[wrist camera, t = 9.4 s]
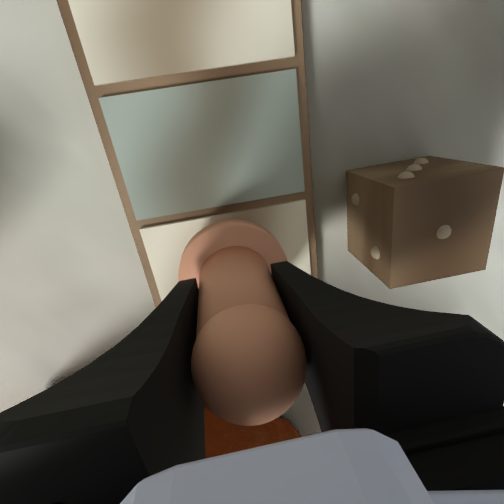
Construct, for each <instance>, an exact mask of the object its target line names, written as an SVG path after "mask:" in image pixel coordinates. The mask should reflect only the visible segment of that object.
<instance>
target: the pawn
mask: <svg viewBox="0 0 504 504" xmlns="http://www.w3.org/2000/svg"><path fill="white" fill-rule="evenodd" d="M283 261H287V258H286V255H285V253H284V251H283V249H282V248H281V246H280V244H279V242H278V241H277V239H276V238H275V237H274V236H273V235H272V234H271V233H270V232H269V231H268V230H267V229H265V228H264V227H262V226H260V225H258V224H256V223H254V222H250V221H247V220H240V219H229V220H222V221H218V222H215V223H213V224H210V225H208V226H206V227H204V228H203V229H201V230H200V231H199V232H197V233H196V234H195V235H194V236H193V237H192V238H191V240H190V241H189V242H188V244H187V245H186V247H185V249H184V251H183V253H182V257H181V261H180V266H179V273H178V282H179V281H182V280H187V279H192V278H196V280H197V284H198V288H199V292H198V311H197V330H196V341H195V343H194V346H193V350H192V357H191V373H192V378H193V383H194V386H195V388H196V391H197V393H198V395H199V397H200V398H201V400H202V401H203V403H204V404H205V405H206V406H207V408H208V409H209V410H210V411H211V412H213V413H214V414H215V415H217V416H218V417H220V418H221V419H223V420H225V421H227V422H230V423H233V424H237V425H242V426H255V425H261V424H265V423H267V422H270V421H272V420H274V419H276V418H278V417H279V416H281V415H282V414H283V413H285V412H286V411H287V410H288V409H289V408H290V407H291V406H292V404H293V403H294V402H295V400H296V399H297V397H298V396H299V394H300V392H301V389H302V387H303V384H304V381H305V376H306V367H307V359H306V352H305V348H304V344H303V341H302V339H301V337H300V335H299V333H298V331H297V329H296V328H295V327H294V325H293V324H292V323H291V322H290V319H289V317H288V314H287V312H286V309H285V307H284V304H283V302H282V299H281V297H280V294H279V292H278V289H277V287H276V284H275V282H274V279H273V277H272V273H271V265H270V264H272V263H277V262H283Z"/></svg>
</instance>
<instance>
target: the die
mask: <svg viewBox="0 0 504 504" xmlns="http://www.w3.org/2000/svg"><path fill="white" fill-rule="evenodd" d="M503 173H504V168H503V167H497V166H490V165H484V164H477V163H471V162H465V161H458V160H452V159H446V158H439V157H433V156H427V157H421V158H415V159H410V160H404V161H398V162H393V163H387V164H381V165H376V166H370V167H364V168H359V169H353V170H347V171H346V181H347V229H348V251H349V252H350V253H351V254H352V255H354V256H355V257H356V258H357V259H358V260H359V261H360V262H361V263H362V264H363V265H364V266H366V267H367V268H368V269H369V270H370V271H371V272H372V273H373V274H374V275H375V276H376V277H377V278H379V279H380V280H381V281H382V282H383V283H384V284H385V285H386V286H387V287H388V288H389V289H392V288H397V287H402V286H407V285H412V284H416V283H421V282H426V281H431V280H436V279H441V278H446V277H451V276H456V275H461V274H466V273H470V272H475V271H480V270H485V269H486V264H487V258H488V253H489V248H490V242H491V237H492V232H493V226H494V221H495V216H496V210H497V205H498V200H499V194H500V189H501V184H502V178H503Z"/></svg>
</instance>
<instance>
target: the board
mask: <svg viewBox="0 0 504 504" xmlns="http://www.w3.org/2000/svg"><path fill="white" fill-rule="evenodd" d="M57 3H58V6H59V9H60V12H61V16H62V19H63V22H64V25H65V28H66V31H67V34H68V37H69V40H70V43H71V46H72V50H73V53H74V56H75V59H76V62H77V65H78V68H79V71H80V74H81V77H82V80H83V84H84V87H85V90H86V93H87V96H88V99H89V102H90V105H91V108H92V111H93V114H94V118H95V121H96V124H97V127H98V130H99V133H100V136H101V139H102V142H103V145H104V148H105V152H106V155H107V158H108V161H109V164H110V167H111V170H112V173H113V176H114V179H115V182H116V186H117V189H118V192H119V195H120V198H121V201H122V204H123V207H124V210H125V213H126V216H127V220H128V223H129V226H130V229H131V232H132V235H133V238H134V241H135V244H136V247H137V250H138V254H139V257H140V260H141V263H142V266H143V269H144V272H145V275H146V278H147V281H148V284H149V288H150V291H151V294H152V297H153V300H154V303H155V306H156V307H157V306H158V305H159V304H160V303H161V302H162V301H163V299H164V298H165V297H166V296H167V295H168V294H169V292H170V291H171V290H172V289H173V288H174V286H175V285H176V284H177V283H178V273H179V266H180V261H181V257H182V253H183V251H184V249H185V247H186V245H187V244H188V242H189V241H190V240H191V238H192V237H193V236H194V235H195V234H196V233H197V232H199V231H200V230H201V229H203V228H204V227H206V226H208V225H210V224H213V223H215V222H218V221H222V220H229V219H240V220H247V221H250V222H254V223H256V224H258V225H260V226H262V227H264V228H265V229H267V230H268V231H269V232H270V233H271V234H272V235H273V236H274V237H275V238H276V239H277V241H278V242H279V244H280V246H281V248H282V249H283V251H284V253H285V255H286V258H287V261H288V262H289V263H291V264H293V265H294V266H296V267H298V268H299V269H301V270H303V271H304V272H306V273H308V274H310V275H311V276H313V277H315V278H317V279H318V270H317V254H316V238H315V222H314V206H313V190H312V174H311V158H310V142H309V126H308V110H307V95H306V79H305V63H304V47H303V31H302V15H301V0H57ZM304 382H305V381H304Z"/></svg>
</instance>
